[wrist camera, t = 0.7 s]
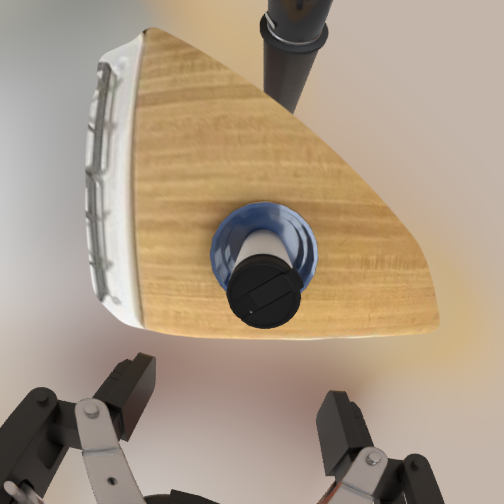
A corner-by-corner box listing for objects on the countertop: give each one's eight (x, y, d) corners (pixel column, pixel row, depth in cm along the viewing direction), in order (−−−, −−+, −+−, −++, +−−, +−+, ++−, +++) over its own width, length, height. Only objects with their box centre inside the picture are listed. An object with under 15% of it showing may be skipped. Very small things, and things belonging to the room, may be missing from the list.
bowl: (226, 193, 40) (220, 193, 34) (319, 211, 40) (328, 215, 34) (211, 282, 43) (203, 295, 37) (298, 299, 43) (303, 314, 37)
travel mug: (293, 254, 41) (319, 308, 22) (256, 277, 42) (251, 345, 23) (271, 219, 40) (279, 244, 21) (234, 243, 41) (208, 288, 22)
